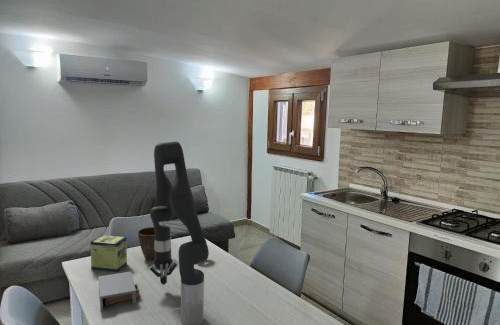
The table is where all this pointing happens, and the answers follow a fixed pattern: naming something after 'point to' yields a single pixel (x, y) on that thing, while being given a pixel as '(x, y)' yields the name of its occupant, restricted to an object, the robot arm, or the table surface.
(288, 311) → the table surface
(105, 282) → the counter shelf
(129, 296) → the tray
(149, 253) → the plant pot
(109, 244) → the protein box
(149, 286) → the table surface
